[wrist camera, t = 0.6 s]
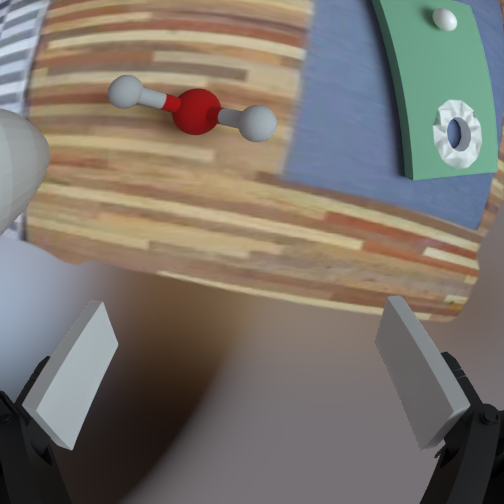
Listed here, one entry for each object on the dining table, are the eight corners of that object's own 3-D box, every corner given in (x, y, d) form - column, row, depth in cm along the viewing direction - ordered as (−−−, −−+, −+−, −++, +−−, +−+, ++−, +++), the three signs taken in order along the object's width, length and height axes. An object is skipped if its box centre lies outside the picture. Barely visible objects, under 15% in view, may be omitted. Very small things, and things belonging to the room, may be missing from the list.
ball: (424, 9, 22) (438, 3, 19) (443, 13, 22) (457, 8, 19) (431, 31, 24) (445, 26, 21) (450, 35, 24) (464, 30, 20)
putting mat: (367, -10, 24) (374, -16, 22) (461, 8, 22) (470, 5, 20) (404, 176, 35) (413, 180, 33) (488, 168, 34) (497, 172, 32)
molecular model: (276, 112, 32) (285, 108, 23) (261, 153, 35) (264, 164, 26) (143, 78, 30) (109, 66, 21) (131, 118, 32) (93, 119, 23)
